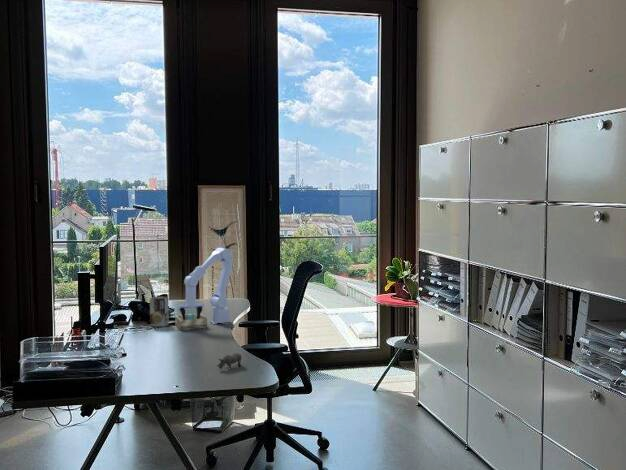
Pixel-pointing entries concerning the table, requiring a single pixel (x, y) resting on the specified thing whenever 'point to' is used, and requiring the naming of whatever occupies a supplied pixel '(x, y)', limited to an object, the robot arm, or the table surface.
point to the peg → (190, 316)
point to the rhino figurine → (230, 360)
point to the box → (190, 322)
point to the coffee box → (159, 311)
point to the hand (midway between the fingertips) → (191, 320)
